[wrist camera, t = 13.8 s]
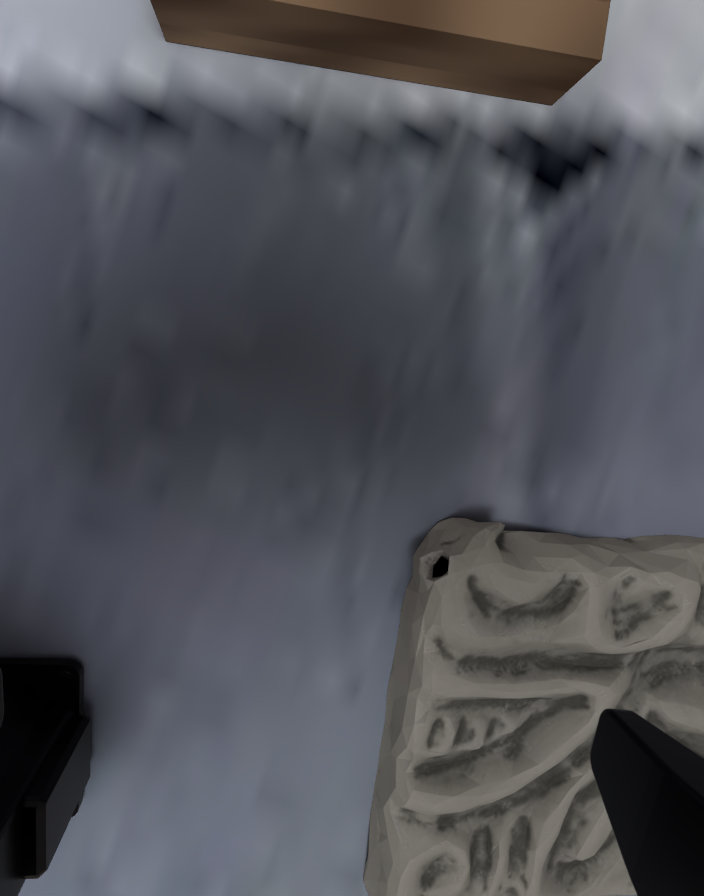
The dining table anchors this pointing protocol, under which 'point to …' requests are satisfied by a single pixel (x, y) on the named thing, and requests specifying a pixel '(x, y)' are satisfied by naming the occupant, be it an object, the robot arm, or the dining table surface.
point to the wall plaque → (526, 705)
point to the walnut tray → (409, 38)
